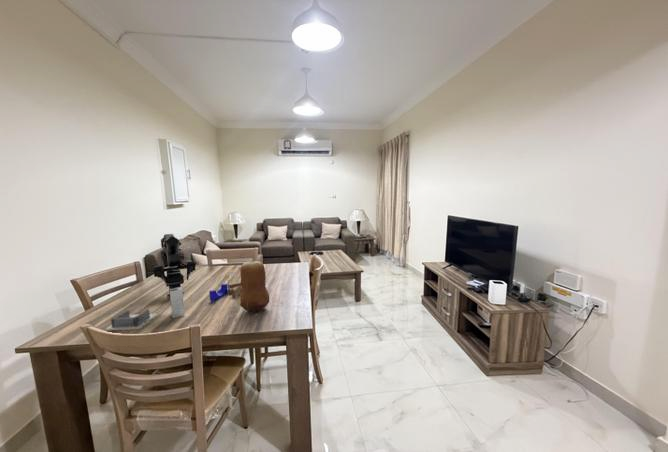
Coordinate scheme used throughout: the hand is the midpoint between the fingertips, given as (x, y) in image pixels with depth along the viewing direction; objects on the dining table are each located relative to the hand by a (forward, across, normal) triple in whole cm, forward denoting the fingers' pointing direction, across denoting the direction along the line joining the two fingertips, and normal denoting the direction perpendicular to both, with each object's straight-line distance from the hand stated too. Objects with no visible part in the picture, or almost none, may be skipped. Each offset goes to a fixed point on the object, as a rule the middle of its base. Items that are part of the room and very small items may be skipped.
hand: (177, 282), depth 133 cm
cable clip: (+6, +19, +14) cm, 25 cm away
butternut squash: (+29, +31, -6) cm, 43 cm away
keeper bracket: (+13, -19, +8) cm, 24 cm away
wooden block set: (+6, +35, +15) cm, 38 cm away
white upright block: (+15, -1, +6) cm, 16 cm away
